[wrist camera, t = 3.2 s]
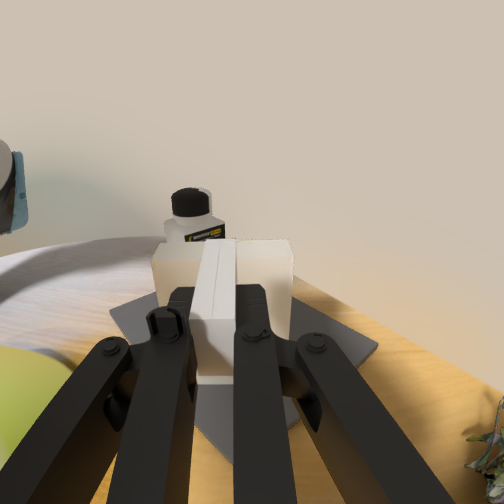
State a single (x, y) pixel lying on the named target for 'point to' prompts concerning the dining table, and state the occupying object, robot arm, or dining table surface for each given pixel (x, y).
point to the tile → (248, 272)
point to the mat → (221, 395)
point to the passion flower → (491, 462)
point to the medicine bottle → (193, 217)
